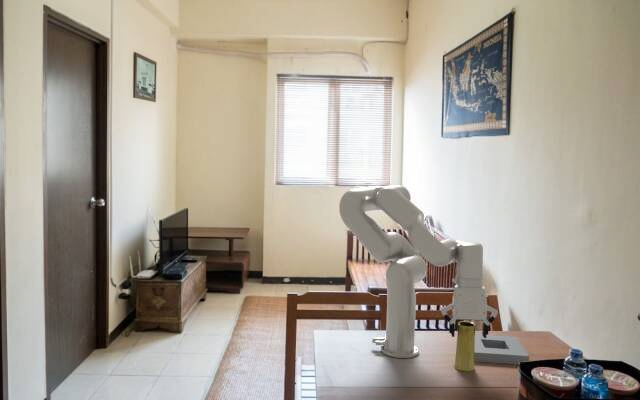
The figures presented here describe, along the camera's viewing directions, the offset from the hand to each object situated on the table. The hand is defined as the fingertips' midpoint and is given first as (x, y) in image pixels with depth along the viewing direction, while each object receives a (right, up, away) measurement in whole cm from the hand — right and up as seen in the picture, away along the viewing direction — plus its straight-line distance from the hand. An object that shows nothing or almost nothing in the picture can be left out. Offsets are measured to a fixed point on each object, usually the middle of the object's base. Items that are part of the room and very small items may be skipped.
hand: (468, 336), depth 172 cm
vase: (-1, -11, +2) cm, 11 cm away
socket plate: (+13, -9, +15) cm, 22 cm away
